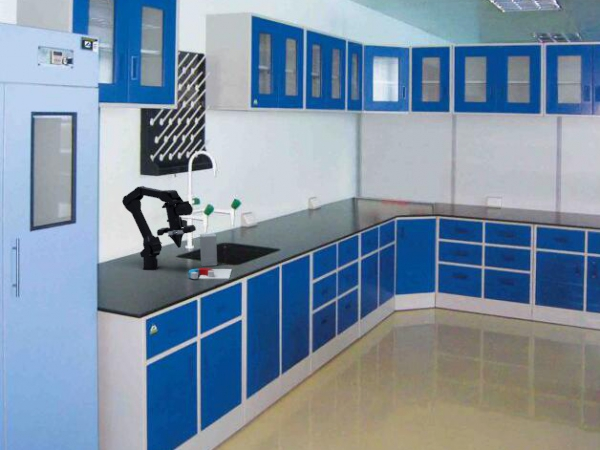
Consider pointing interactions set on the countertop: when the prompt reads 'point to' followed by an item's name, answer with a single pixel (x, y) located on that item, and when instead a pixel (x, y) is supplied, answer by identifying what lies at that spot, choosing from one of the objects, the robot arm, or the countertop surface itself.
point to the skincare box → (208, 249)
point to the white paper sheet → (218, 274)
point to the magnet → (200, 272)
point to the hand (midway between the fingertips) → (179, 247)
